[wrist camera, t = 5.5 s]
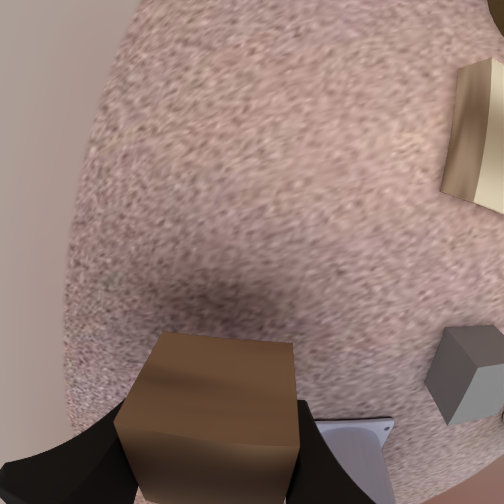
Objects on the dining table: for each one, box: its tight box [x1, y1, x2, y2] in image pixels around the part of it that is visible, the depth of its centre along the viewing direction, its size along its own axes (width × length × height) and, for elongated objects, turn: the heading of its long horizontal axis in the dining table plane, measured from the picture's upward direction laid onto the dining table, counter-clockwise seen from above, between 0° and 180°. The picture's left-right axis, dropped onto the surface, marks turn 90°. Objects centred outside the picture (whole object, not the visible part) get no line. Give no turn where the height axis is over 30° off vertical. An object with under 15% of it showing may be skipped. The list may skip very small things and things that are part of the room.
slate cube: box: [425, 325, 504, 426], centre depth 17 cm, size 5×5×5 cm
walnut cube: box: [114, 331, 300, 504], centre depth 10 cm, size 5×5×5 cm
